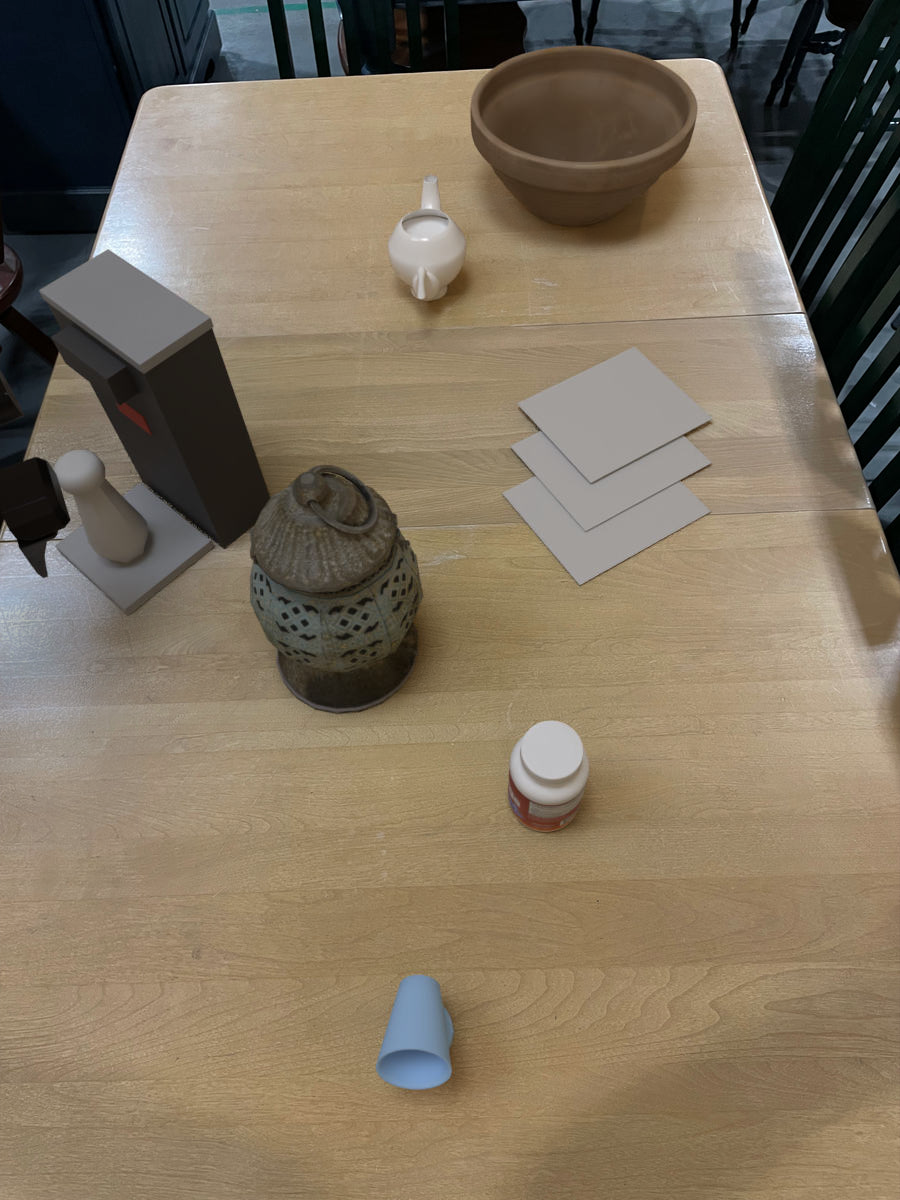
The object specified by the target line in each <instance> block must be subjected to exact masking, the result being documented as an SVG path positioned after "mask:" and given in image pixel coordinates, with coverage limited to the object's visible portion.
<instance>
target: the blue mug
mask: <svg viewBox="0 0 900 1200" xmlns="http://www.w3.org/2000/svg"><path fill="white" fill-rule="evenodd" d="M384 1032H385V1034H384V1035H383V1039H382V1043H381V1046H380V1049H379V1052H378V1053H379V1054H378V1057H377V1060H376V1064H375V1071H376V1073H377V1075H378V1076H379V1077H380V1079H382V1080H383V1081H384V1082H385V1083H387V1084H389V1085H392V1086H394V1087H396V1088H401V1089H405V1090H412V1091H413V1090H414V1091H416V1090H417V1091H420V1090H430V1089H434V1088H437V1087H440V1086H442V1085H443V1084H445V1083H446V1082H448V1080H449V1079H450V1078H451V1076H452V1072H453V1070H452V1061H451V1056H450V1055H451V1054H450V1049H451V1047H452V1044H453V1040H454V1035H455V1029H454V1024H453V1020H452V1017H451V1015H450V1013H449V1011H448V1010H447V1008H446V1006H444V1004H443V997H442V991H441V985H440V983H439V981H438V980H437V979H435V978H434V977H432V976H428V975H425V974H412V975H408V976H406V977H404V978H403V979H401V980H400V982H399V985H398V988H397V991H396V995H395V998H394V1002H393V1006H392V1008H391V1012H390V1015H389V1019H388V1022H387V1026H386V1029H385V1031H384Z"/></svg>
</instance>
